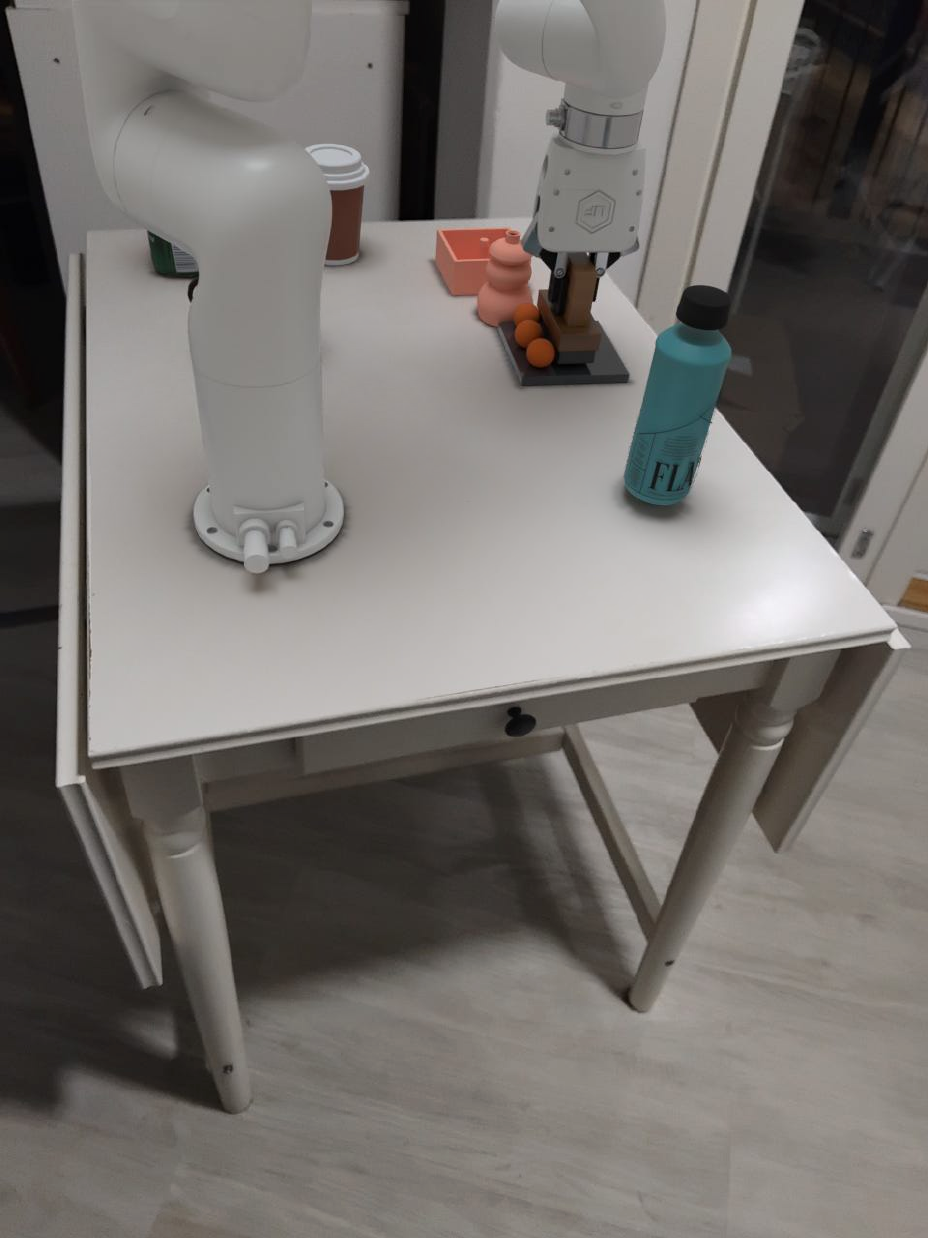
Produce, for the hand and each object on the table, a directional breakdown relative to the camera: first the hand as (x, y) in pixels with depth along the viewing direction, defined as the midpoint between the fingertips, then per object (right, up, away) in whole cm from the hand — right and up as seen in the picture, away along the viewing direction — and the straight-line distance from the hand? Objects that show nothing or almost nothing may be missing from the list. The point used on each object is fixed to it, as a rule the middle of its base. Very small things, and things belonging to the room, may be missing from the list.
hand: (570, 306), depth 102 cm
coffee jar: (-45, +10, +13) cm, 48 cm away
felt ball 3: (-3, -5, -1) cm, 6 cm away
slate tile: (-1, -4, +4) cm, 6 cm away
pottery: (-8, +6, +13) cm, 17 cm away
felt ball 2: (-4, -2, +2) cm, 5 cm away
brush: (0, -3, +3) cm, 4 cm away
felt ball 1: (-4, 0, +4) cm, 6 cm away
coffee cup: (-28, +12, +18) cm, 35 cm away
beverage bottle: (+6, -22, -13) cm, 27 cm away
